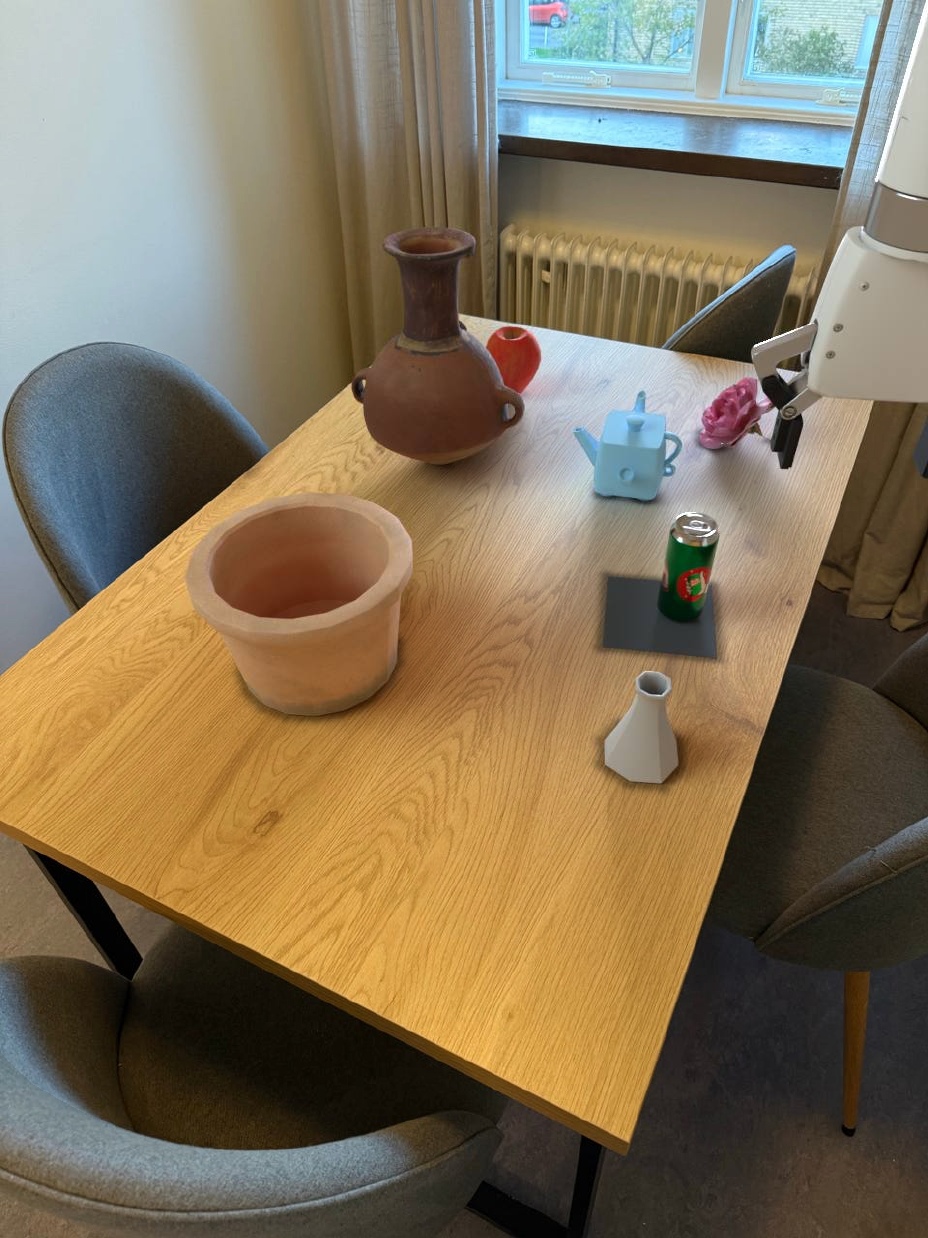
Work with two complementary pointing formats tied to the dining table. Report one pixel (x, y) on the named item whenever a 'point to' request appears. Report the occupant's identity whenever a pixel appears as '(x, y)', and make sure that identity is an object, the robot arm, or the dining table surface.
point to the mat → (653, 621)
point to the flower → (734, 415)
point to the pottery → (306, 597)
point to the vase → (434, 361)
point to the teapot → (630, 452)
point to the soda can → (687, 566)
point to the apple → (515, 356)
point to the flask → (644, 734)
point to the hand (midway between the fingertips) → (851, 463)
